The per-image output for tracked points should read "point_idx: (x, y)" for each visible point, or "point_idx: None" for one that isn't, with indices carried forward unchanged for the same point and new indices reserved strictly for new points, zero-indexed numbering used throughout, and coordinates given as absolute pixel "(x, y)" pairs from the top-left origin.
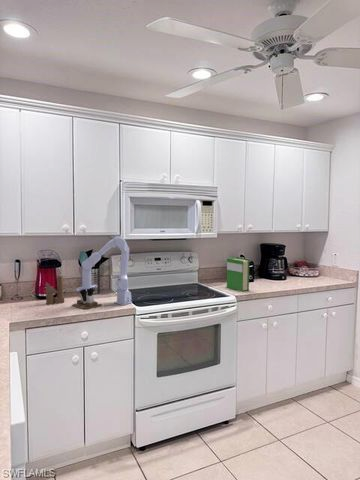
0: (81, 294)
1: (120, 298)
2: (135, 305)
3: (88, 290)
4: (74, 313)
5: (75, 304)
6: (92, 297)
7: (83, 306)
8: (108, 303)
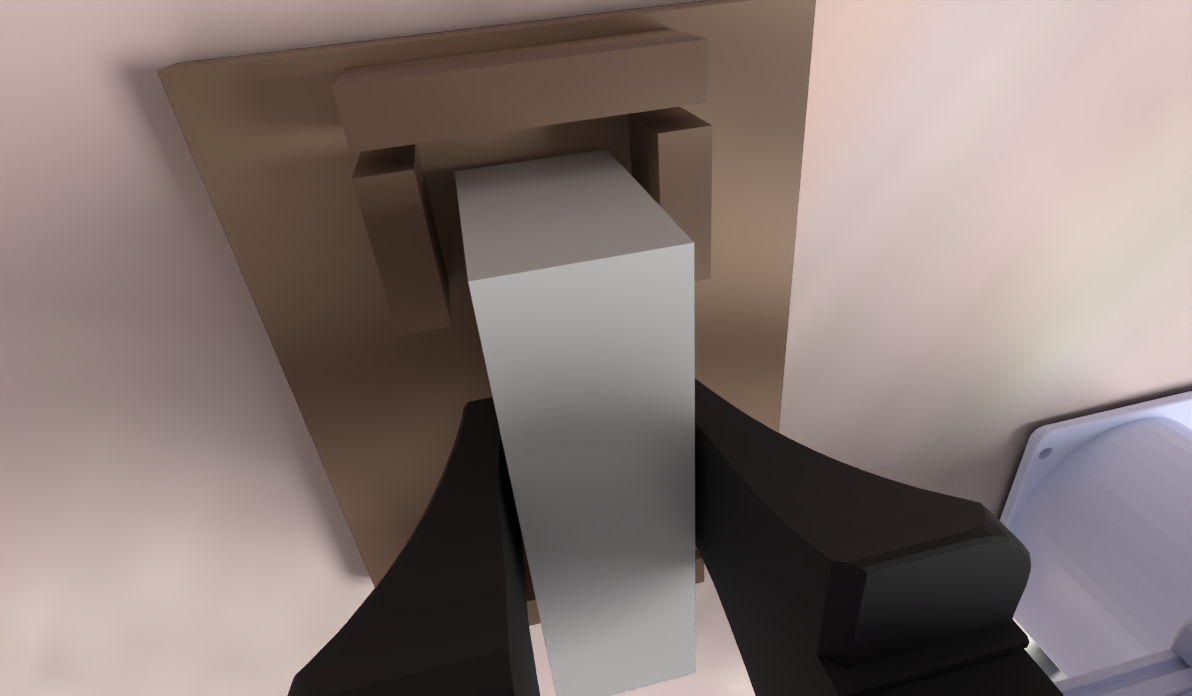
0: (400, 569)
1: (1086, 615)
2: (1034, 645)
3: (795, 634)
4: (87, 686)
5: (251, 185)
6: (647, 670)
7: (391, 483)
8: (955, 402)
